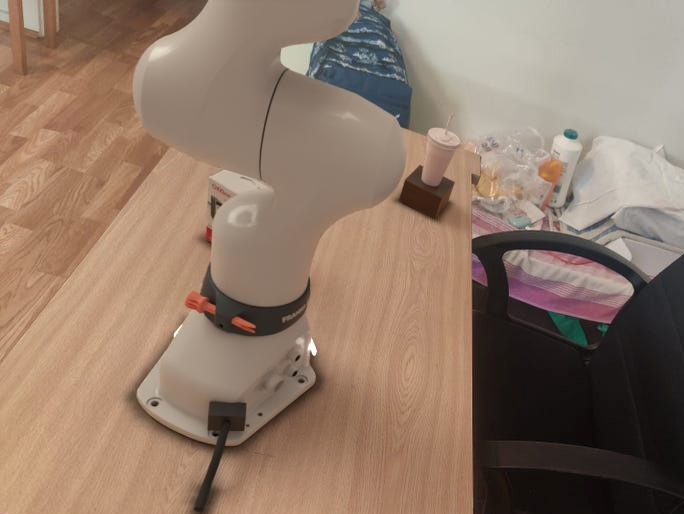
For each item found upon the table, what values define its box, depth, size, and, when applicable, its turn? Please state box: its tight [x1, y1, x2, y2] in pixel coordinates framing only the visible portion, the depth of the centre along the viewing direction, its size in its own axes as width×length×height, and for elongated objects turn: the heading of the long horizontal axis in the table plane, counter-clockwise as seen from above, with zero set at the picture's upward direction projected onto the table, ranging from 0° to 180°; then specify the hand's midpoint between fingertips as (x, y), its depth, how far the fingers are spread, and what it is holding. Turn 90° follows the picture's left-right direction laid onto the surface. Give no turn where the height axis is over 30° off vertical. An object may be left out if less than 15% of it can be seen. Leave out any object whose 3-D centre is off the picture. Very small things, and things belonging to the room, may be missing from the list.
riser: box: [398, 164, 456, 220], centre depth 121 cm, size 8×8×5 cm
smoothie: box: [421, 112, 461, 186], centre depth 114 cm, size 6×6×14 cm
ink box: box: [205, 168, 270, 244], centre depth 91 cm, size 9×5×12 cm, turn 65°
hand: (369, 15), depth 95 cm, fingers open, 8 cm apart
